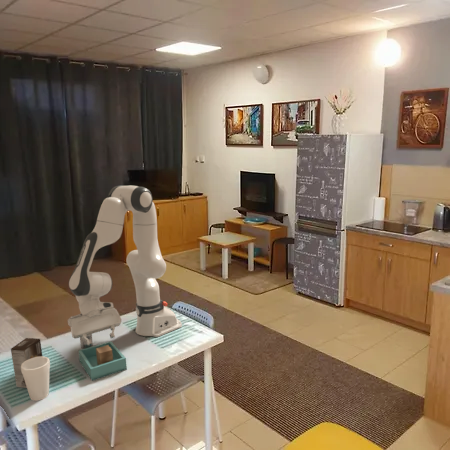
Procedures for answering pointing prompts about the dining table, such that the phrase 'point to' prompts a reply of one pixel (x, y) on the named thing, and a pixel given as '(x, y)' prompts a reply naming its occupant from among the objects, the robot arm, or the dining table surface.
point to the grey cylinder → (84, 343)
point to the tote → (99, 371)
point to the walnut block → (104, 355)
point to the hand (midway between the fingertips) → (101, 341)
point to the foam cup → (36, 377)
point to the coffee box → (24, 357)
